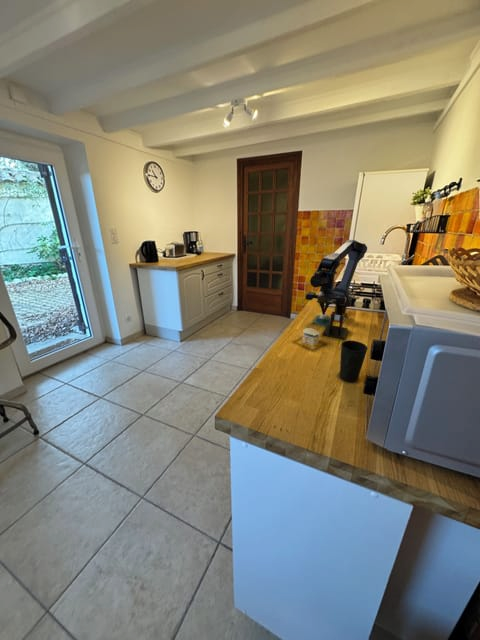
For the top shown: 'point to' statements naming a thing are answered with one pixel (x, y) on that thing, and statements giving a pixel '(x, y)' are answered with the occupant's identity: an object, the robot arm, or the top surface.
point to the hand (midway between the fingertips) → (323, 314)
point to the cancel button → (323, 316)
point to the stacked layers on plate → (310, 336)
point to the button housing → (322, 321)
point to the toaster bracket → (335, 328)
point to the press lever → (337, 317)
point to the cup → (351, 360)
